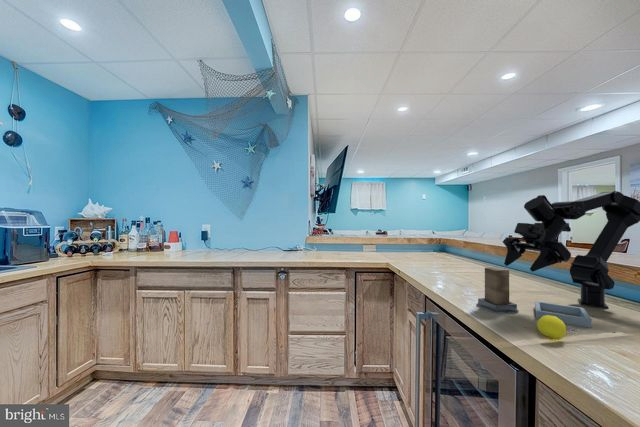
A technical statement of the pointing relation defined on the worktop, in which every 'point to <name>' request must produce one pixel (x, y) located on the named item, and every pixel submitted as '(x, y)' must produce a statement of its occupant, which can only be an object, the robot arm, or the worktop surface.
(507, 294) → the post
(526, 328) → the worktop surface
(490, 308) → the base
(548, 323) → the lemon
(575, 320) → the tray
